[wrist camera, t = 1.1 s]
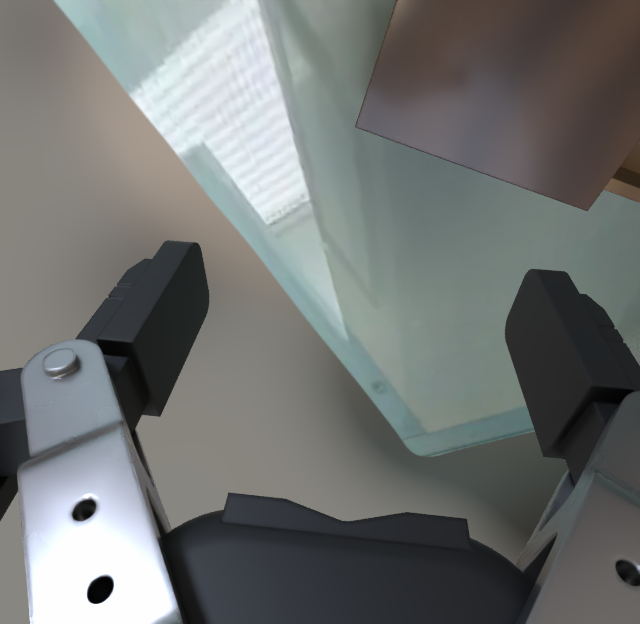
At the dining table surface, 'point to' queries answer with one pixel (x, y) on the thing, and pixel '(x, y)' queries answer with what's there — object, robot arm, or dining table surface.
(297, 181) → the dining table surface
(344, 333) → the dining table surface
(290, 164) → the dining table surface
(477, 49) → the cabinet
